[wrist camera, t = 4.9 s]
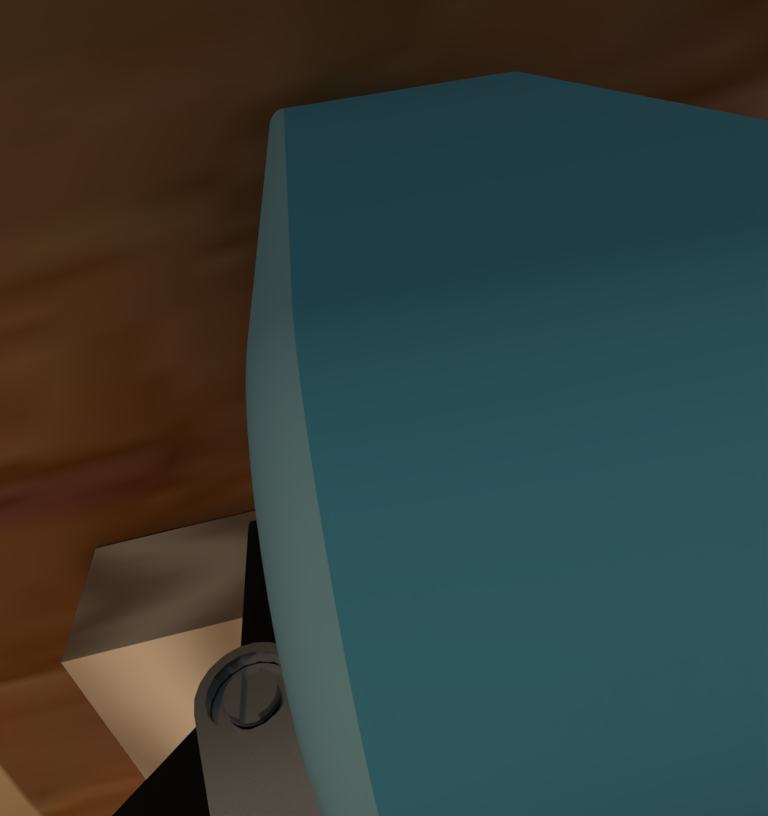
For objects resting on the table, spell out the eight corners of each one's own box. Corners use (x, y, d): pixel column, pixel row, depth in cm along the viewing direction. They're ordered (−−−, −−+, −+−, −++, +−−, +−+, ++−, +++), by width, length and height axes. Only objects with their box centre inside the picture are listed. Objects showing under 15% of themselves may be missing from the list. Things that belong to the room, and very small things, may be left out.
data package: (513, 525, 18) (800, 1139, 8) (361, 556, 18) (465, 1224, 8) (500, 63, 12) (1664, 267, 2) (267, 101, 12) (194, 556, 2)
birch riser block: (430, 468, 24) (466, 562, 20) (464, 692, 33) (495, 791, 28) (95, 548, 24) (60, 662, 20) (216, 756, 32) (210, 868, 28)
